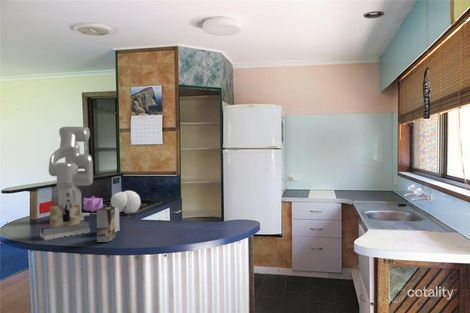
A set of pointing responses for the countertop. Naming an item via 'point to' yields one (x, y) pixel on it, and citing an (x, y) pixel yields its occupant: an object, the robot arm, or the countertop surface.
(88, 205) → the purple lumpy block
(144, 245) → the countertop surface
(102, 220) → the coffee box
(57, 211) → the door panel
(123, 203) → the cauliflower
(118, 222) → the supplement box
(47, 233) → the door track
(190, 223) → the countertop surface
